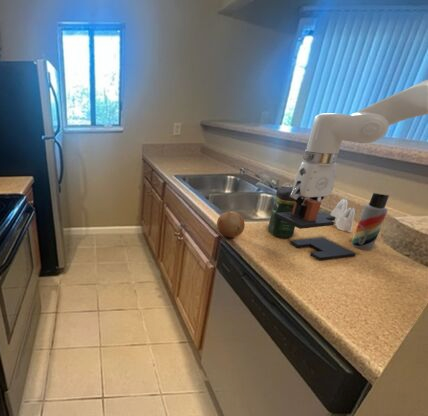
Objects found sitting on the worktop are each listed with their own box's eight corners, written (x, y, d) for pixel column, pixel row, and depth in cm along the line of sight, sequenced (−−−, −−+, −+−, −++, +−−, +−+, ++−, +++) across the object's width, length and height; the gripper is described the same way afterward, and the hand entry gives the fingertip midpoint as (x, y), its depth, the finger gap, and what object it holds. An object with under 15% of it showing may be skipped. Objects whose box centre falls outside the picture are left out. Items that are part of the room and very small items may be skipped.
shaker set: (326, 220, 120) (334, 196, 116) (338, 221, 119) (346, 196, 115) (339, 231, 109) (348, 205, 105) (352, 232, 108) (361, 206, 104)
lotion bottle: (349, 246, 98) (368, 193, 91) (352, 241, 101) (370, 189, 94) (371, 252, 94) (392, 197, 87) (373, 246, 97) (394, 193, 90)
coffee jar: (295, 240, 103) (307, 193, 96) (271, 237, 105) (282, 191, 98) (287, 229, 111) (298, 185, 105) (265, 227, 114) (275, 184, 107)
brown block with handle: (314, 212, 93) (320, 192, 91) (344, 224, 84) (351, 202, 82) (274, 216, 91) (278, 195, 88) (299, 228, 82) (305, 206, 79)
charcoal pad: (321, 240, 103) (322, 237, 102) (354, 256, 92) (355, 253, 91) (289, 243, 100) (290, 240, 100) (319, 260, 89) (320, 257, 89)
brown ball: (230, 244, 100) (234, 219, 97) (209, 233, 109) (212, 210, 105) (248, 238, 104) (253, 214, 101) (227, 228, 113) (231, 206, 109)
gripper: (307, 161, 75) (291, 222, 82) (356, 159, 78) (336, 218, 85) (285, 156, 82) (272, 213, 89) (331, 154, 85) (315, 209, 91)
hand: (303, 215), depth 86 cm, fingers closed on brown block with handle, 3 cm apart
